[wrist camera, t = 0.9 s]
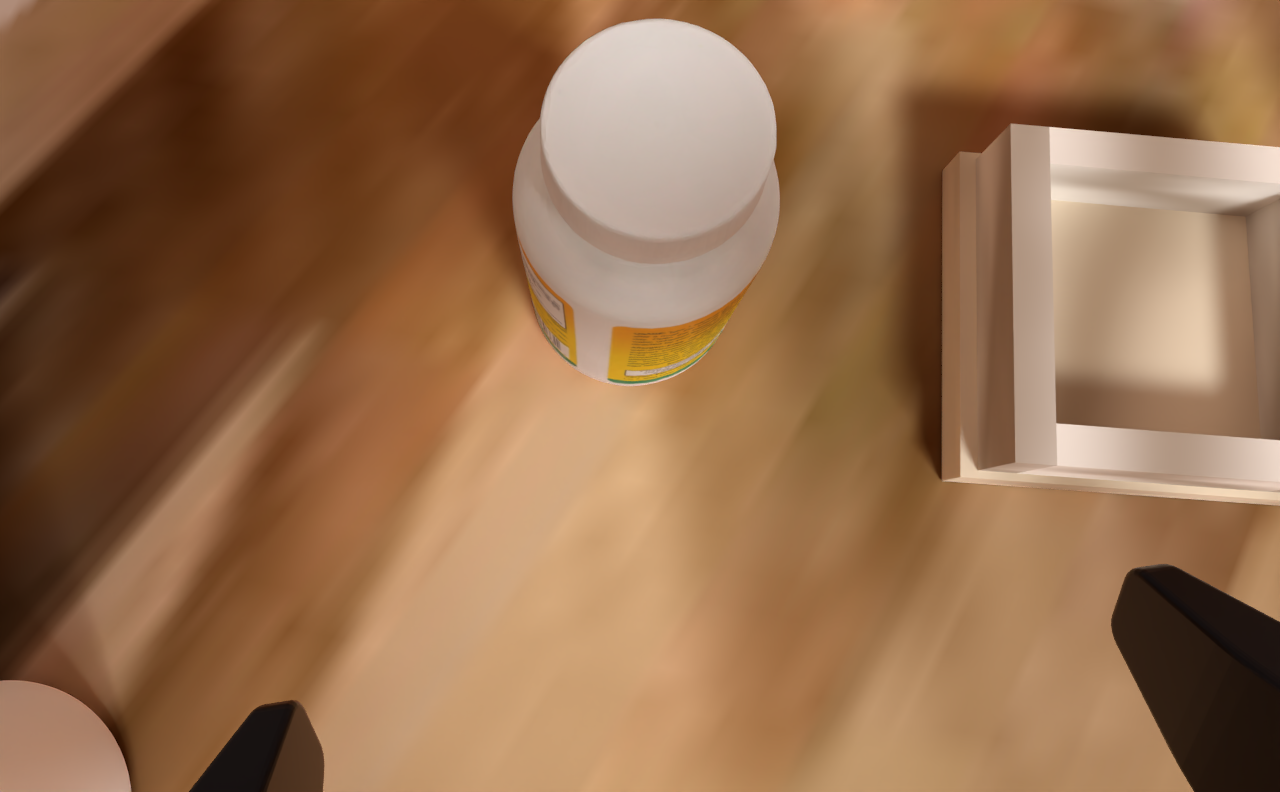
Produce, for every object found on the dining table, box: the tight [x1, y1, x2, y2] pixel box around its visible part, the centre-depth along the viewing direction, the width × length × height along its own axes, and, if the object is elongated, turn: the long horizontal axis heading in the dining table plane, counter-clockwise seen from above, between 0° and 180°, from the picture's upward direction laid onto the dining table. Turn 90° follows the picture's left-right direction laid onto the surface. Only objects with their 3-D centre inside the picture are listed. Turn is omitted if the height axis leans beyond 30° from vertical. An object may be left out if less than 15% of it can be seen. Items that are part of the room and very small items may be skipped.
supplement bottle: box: [512, 19, 780, 386], centre depth 19 cm, size 5×5×10 cm
